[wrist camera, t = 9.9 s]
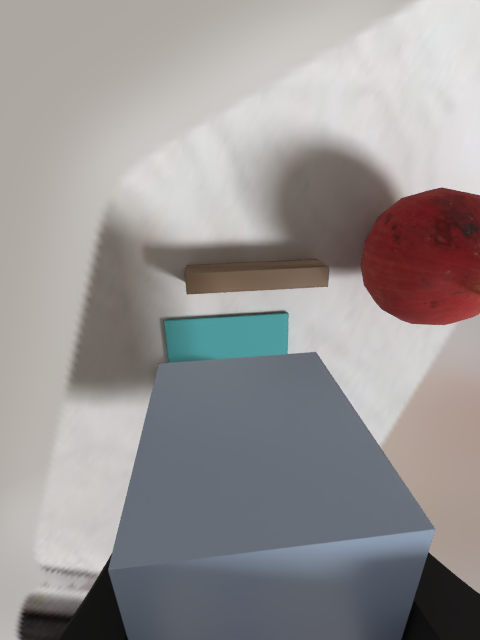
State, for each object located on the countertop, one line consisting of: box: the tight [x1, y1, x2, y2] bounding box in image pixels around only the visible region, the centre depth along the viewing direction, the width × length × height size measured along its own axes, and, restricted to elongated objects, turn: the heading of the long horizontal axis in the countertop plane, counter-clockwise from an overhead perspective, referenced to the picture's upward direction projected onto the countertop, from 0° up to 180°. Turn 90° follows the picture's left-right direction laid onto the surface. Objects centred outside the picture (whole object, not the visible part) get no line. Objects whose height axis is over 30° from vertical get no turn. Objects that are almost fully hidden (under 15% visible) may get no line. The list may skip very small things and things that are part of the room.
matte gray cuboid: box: [108, 352, 435, 640], centre depth 10 cm, size 9×6×7 cm, turn 1°
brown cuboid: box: [185, 259, 329, 294], centre depth 17 cm, size 1×7×2 cm, turn 92°
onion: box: [361, 188, 480, 325], centre depth 14 cm, size 6×6×8 cm
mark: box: [164, 313, 289, 363], centre depth 20 cm, size 7×7×1 cm
